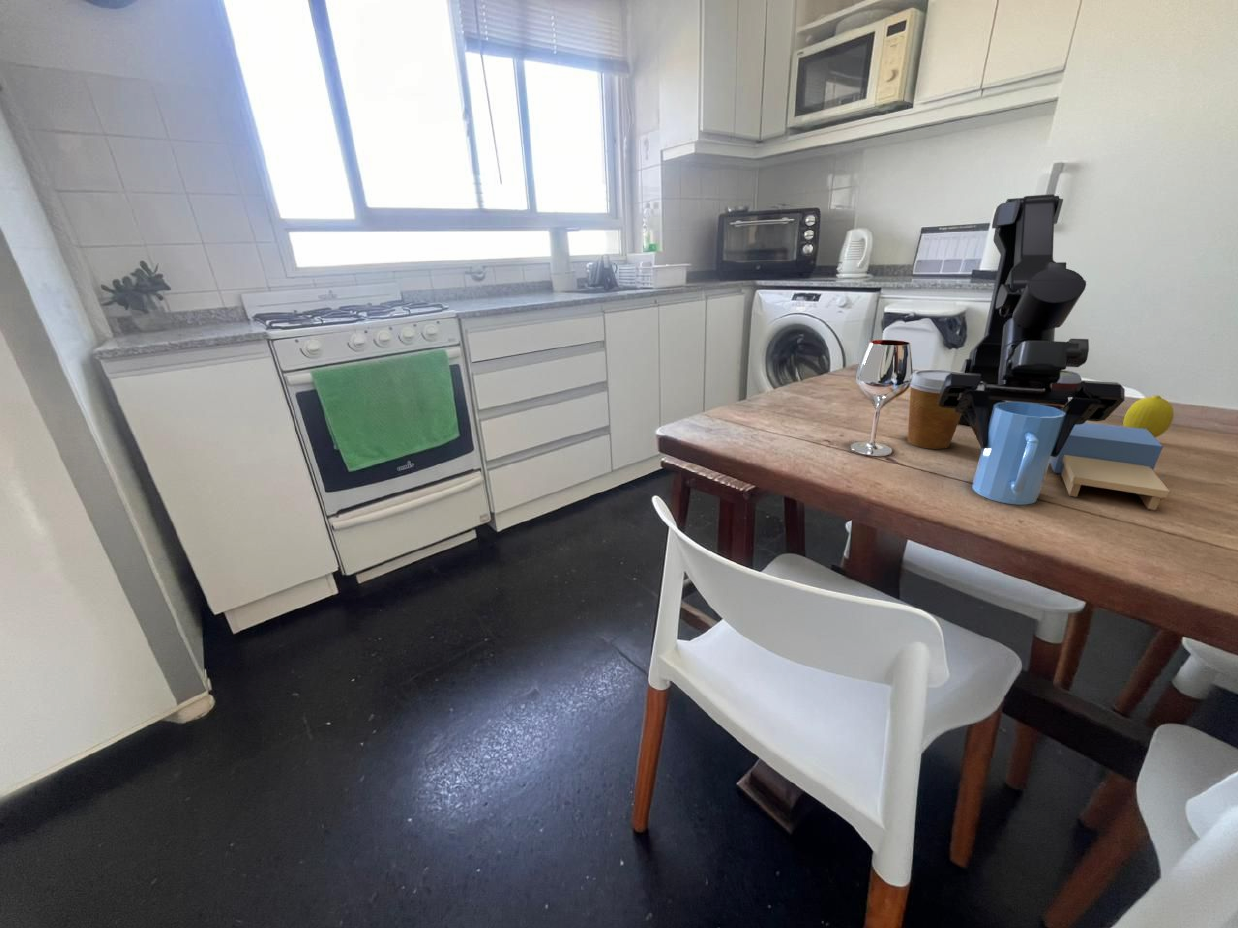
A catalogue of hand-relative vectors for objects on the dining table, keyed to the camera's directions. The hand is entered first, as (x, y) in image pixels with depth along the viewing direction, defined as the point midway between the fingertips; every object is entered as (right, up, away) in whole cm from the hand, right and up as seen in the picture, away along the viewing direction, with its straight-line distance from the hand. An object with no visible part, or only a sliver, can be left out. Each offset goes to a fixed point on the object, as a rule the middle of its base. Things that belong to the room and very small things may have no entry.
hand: (1018, 451), depth 64 cm
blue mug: (0, -6, +2) cm, 7 cm away
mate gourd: (+35, +9, +36) cm, 51 cm away
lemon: (+36, +2, +19) cm, 41 cm away
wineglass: (-9, +1, +20) cm, 22 cm away
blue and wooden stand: (+17, -4, +6) cm, 18 cm away
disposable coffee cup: (+2, +2, +22) cm, 22 cm away
